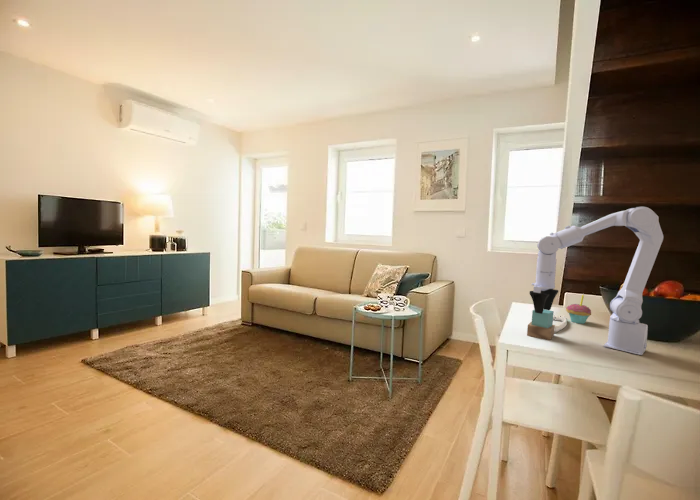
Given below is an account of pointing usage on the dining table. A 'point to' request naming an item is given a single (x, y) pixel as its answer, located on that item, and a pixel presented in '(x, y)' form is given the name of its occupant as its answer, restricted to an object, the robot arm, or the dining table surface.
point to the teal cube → (542, 318)
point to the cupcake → (578, 312)
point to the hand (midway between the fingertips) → (542, 311)
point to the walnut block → (540, 331)
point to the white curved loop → (560, 324)
